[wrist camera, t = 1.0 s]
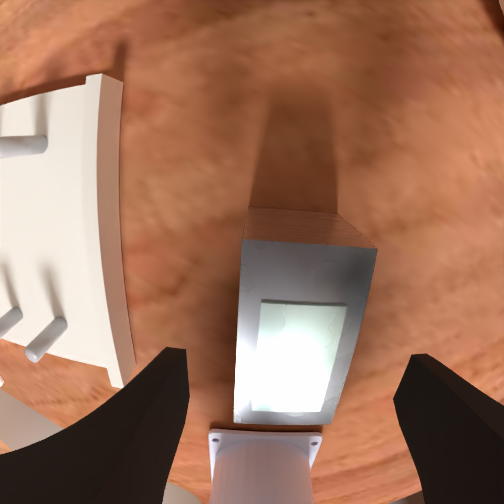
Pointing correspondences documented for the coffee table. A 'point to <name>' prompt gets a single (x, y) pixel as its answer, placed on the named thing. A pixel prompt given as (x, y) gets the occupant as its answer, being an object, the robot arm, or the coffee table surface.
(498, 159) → the coffee table surface
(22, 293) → the tray
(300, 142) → the coffee table surface
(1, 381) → the flower shoulder figurine
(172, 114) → the coffee table surface
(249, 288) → the grey rectangular block
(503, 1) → the cereal bowl
